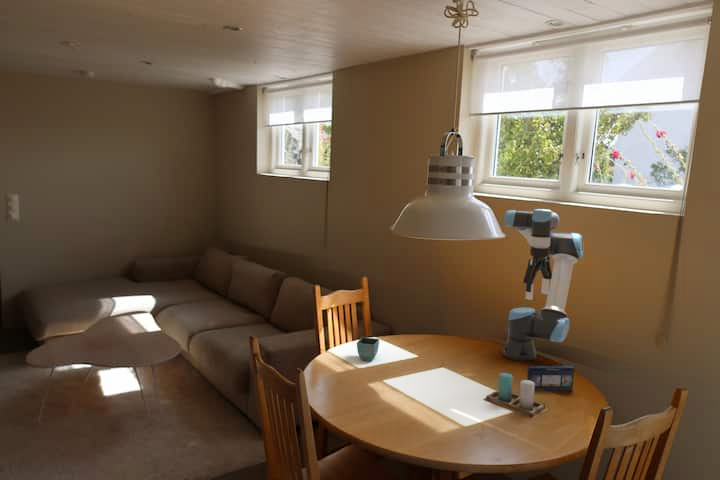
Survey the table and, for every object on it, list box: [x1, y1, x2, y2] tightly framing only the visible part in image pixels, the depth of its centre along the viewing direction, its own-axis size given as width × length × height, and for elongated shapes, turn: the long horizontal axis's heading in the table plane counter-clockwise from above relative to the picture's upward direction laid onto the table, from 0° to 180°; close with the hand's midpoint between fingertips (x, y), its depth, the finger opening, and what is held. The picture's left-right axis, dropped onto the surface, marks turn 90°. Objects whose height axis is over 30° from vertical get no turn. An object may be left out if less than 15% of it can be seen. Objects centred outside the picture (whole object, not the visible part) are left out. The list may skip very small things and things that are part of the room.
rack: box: [482, 389, 550, 420], centre depth 197 cm, size 12×21×2 cm, turn 44°
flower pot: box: [356, 336, 380, 362], centre depth 242 cm, size 9×9×9 cm
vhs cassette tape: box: [526, 365, 575, 392], centre depth 211 cm, size 18×3×10 cm, turn 89°
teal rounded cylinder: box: [497, 372, 513, 403], centre depth 199 cm, size 5×5×10 cm
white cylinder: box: [519, 379, 535, 411], centre depth 193 cm, size 5×5×10 cm
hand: (536, 296), depth 217 cm, fingers open, 13 cm apart
